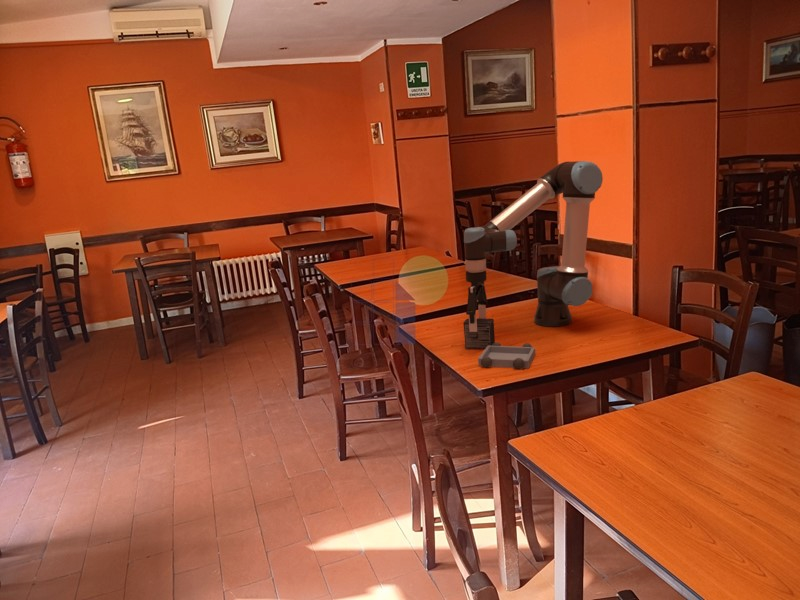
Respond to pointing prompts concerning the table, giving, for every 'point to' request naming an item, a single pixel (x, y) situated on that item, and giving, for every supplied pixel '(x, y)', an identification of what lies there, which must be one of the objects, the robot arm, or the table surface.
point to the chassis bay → (507, 356)
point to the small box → (479, 334)
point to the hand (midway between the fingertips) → (478, 326)
